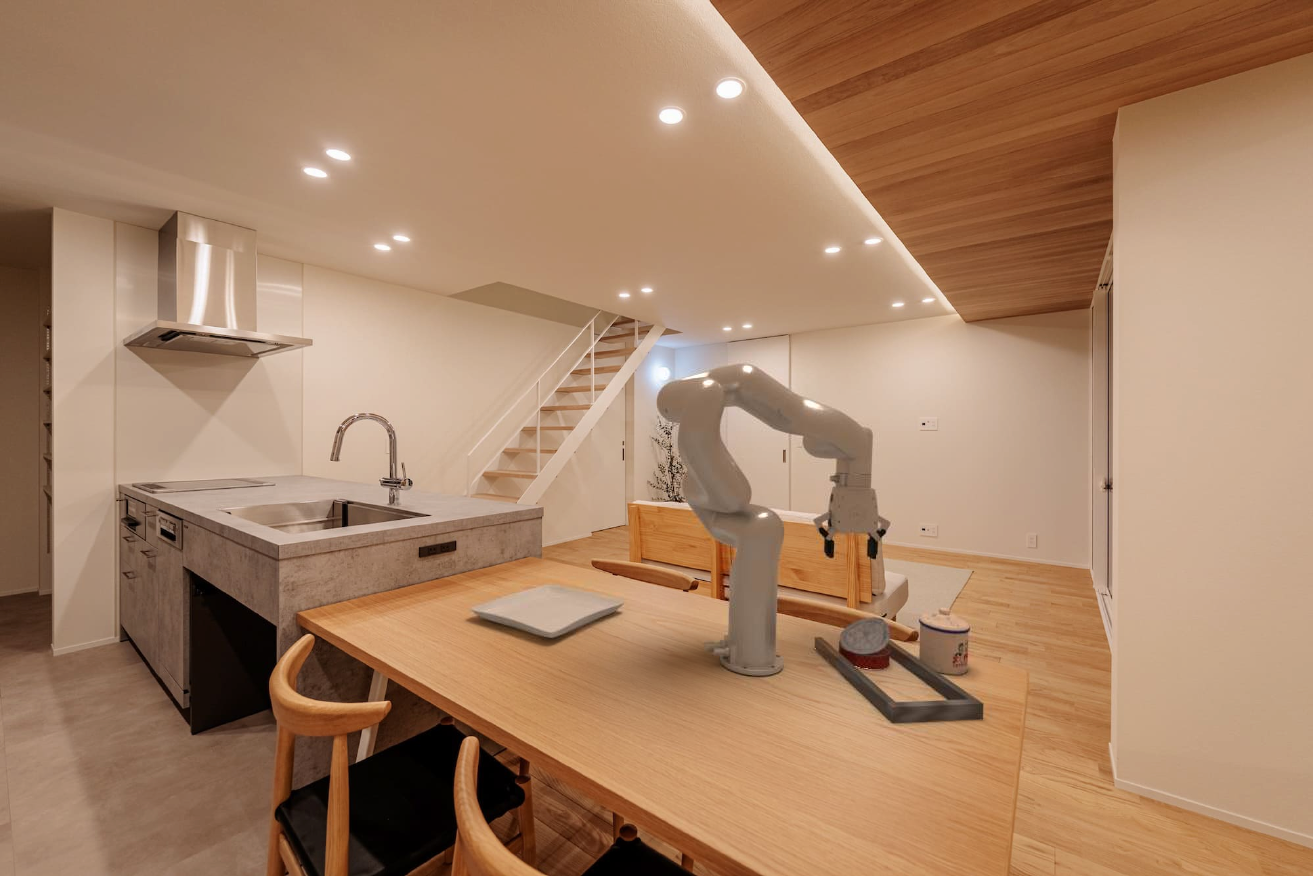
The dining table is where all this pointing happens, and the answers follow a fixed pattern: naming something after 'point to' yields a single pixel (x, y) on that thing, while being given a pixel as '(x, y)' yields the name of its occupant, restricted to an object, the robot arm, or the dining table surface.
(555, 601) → the square plate
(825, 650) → the can dock
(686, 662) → the dining table surface
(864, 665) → the canned food
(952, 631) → the teacup with lid
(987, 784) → the dining table surface
